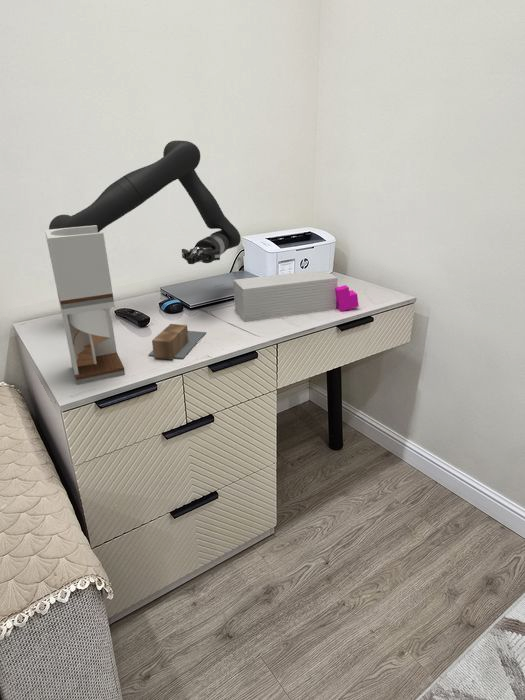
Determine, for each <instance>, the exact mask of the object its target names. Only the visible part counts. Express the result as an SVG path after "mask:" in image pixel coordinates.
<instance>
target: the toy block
mask: <svg viewBox="0 0 525 700" xmlns="http://www.w3.org/2000/svg"><path fill="white" fill-rule="evenodd" d="M335 293H336V301H337V302H336V309H338V310H339V311H340V312H345V311H348V310H352V309H355V308H358V307H359V306H360V305H359V298H358V293H357V292H356V291H354V290H353V289H351V290H350V288H349V286H348V285H347V284H344V285H341V286H338V285H337V288H335Z"/></svg>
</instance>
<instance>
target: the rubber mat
mask: <svg viewBox="0 0 525 700" xmlns="http://www.w3.org/2000/svg"><path fill="white" fill-rule="evenodd" d="M206 334H207V332H206V331H197V330H196V331H194V330H188V340H189V342H188V343H187V344H186V345H185V346H184V347H183V348H182V349H181V350H180V351H179V352H178V353H177V354H176V355H175V356H174V358H173V359H176V360H184V359H185V358H186V357H187V356H186V355H189V353H190V352H191V351H192V350H193V349H194V348H195V347H196V345H197V344H198V343H199V342H200V341H201V340H202V339H201V338H204V337H205V335H206ZM200 339H201V340H200ZM199 340H200V341H199ZM198 341H199V342H198ZM197 342H198V343H197ZM194 346H195V347H194ZM193 347H194V348H193ZM192 348H193V349H192ZM147 355H148V357H153V356H154V353H153V350H152V351H151V352H149V353H148V354H147ZM185 356H186V357H185Z"/></svg>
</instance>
